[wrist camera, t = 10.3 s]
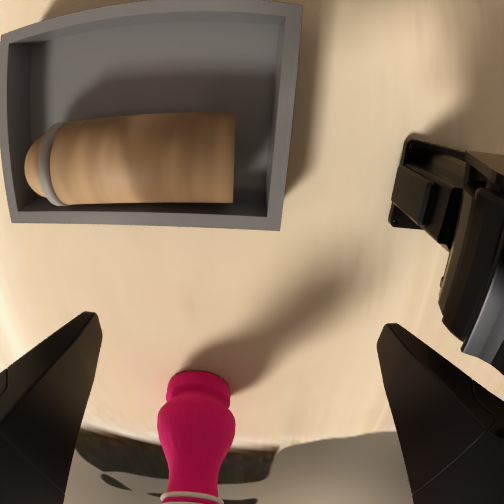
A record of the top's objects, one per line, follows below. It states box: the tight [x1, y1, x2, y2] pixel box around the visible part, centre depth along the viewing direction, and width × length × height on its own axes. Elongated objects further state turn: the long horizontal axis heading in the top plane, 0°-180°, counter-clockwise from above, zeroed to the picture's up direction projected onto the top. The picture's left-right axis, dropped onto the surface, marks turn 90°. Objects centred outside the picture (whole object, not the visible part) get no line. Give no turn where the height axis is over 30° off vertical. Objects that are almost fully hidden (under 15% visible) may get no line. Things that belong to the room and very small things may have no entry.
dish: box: [0, 0, 303, 231], centre depth 16 cm, size 18×13×4 cm
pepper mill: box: [157, 371, 236, 504], centre depth 21 cm, size 7×7×20 cm
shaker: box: [24, 112, 236, 206], centre depth 16 cm, size 5×5×12 cm
